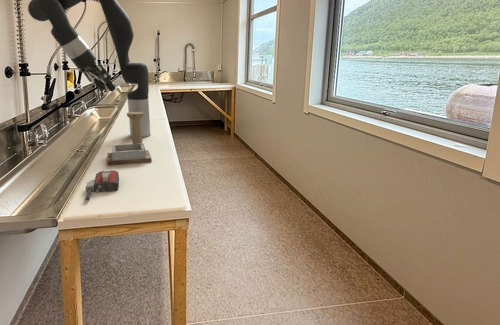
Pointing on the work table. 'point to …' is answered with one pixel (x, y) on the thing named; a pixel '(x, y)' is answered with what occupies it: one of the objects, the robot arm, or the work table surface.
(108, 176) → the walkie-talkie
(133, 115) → the handle
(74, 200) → the work table surface
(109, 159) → the board
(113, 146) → the collar
